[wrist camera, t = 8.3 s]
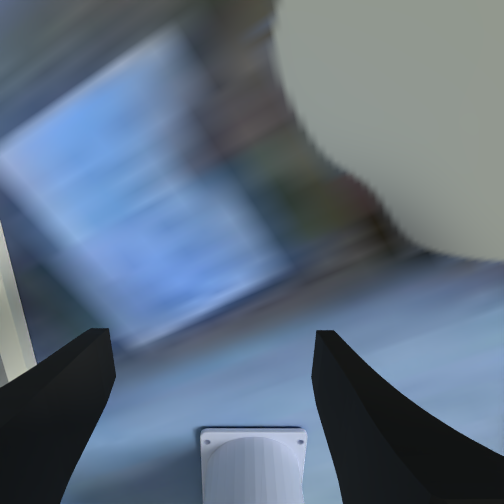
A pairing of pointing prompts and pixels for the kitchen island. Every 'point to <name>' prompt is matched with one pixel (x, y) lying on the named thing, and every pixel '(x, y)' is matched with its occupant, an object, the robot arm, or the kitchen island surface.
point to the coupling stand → (12, 324)
